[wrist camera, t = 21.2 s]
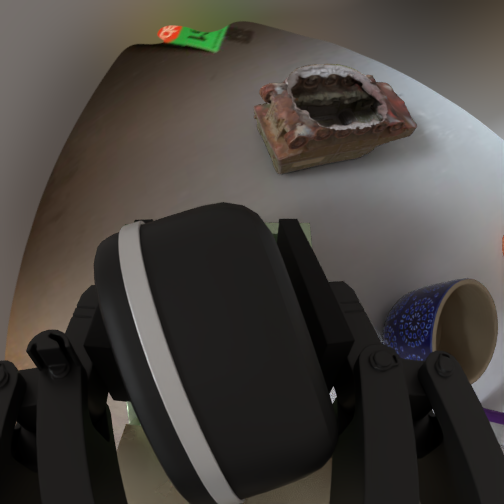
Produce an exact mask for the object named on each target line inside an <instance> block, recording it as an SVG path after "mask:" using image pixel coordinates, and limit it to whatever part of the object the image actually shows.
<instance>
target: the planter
mask: <svg viewBox="0 0 504 504" xmlns="http://www.w3.org/2000/svg"><path fill="white" fill-rule="evenodd" d="M497 334H498V319H497V312H496V308H495V304H494V301H493V299H492V297H491V295H490V293H489V292H488V290H487V289H486V288H485V286H484V285H483V284H481V283H480V282H478V281H476V280H474V279H468V278H467V279H459V280H453V281H448V282H443V283H439V284H435V285H430V286H426V287H423V288H420V289H417V290H414V291H412V292H410V293H408V294H406V295H405V296H403V297H402V298H401V299H399V300H398V301H397V303H396V304H395V305H394V306H393V308H392V309H391V311H390V313H389V315H388V317H387V319H386V322H385V326H384V332H383V342H384V345H387V346H388V347H390V348H392V349H394V350H395V351H396V352H397V353H398V355H399V356H400V358H403V359H410V360H420V361H425V360H426V358H427V357H428V355H429V354H430V353H432V352H434V351H445V352H448V353H449V354H451V355H452V356H454V357H455V358H456V360H457V361H458V362H459V364H460V366H461V367H462V369H463V371H464V373H465V375H466V376H467V378H468V380H469V382H470V384H473V383H474V382H476V381H477V380H478V379H479V378H480V377H481V375H482V374H483V373H484V372H485V370H486V368H487V367H488V365H489V363H490V361H491V359H492V356H493V353H494V350H495V346H496V341H497Z"/></svg>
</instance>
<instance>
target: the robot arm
mask: <svg viewBox="0 0 504 504" xmlns="http://www.w3.org/2000/svg"><path fill="white" fill-rule="evenodd" d="M137 221H143V222H144V223H145V224H146V223H149V222H152V221H153V219H151V220H135V221H134V222H137ZM277 245H278V248H279V251H280V253H281V256H282V258H283V261H284V264H285V267H286V269H287V272H288V275H289V278H290V280H291V283H292V286H293V289H294V291H295V294H296V297H297V300H298V303H299V305H300V308H301V311H302V314H303V317H304V319H305V322H306V325H307V328H308V331H309V334H310V337H311V340H312V343H313V346H314V349H315V352H316V355H317V358H318V361H319V364H320V367H321V370H322V373H323V376H324V379H325V382H326V386H327V389H328V392H329V393H330V392H331V390H332V388H333V386H334V389H335V392H336V395H337V397H336V399H335V401H334V402H333V408H334V411H335V415H336V419H337V424H338V442H337V444H336V447H335V450H334V452H333V455H332V472H331V488H330V501H329V504H504V455H503V452H502V450H501V447H500V445H499V443H498V440H497V438H496V436H495V433H494V431H493V429H492V427H491V424H490V422H489V420H488V418H487V416H486V414H485V412H484V409H483V407H482V405H481V403H480V401H479V399H478V397H477V395H476V393H475V392H474V390H473V388H472V386H471V384H470V382H469V380H468V378H467V376H466V375H465V373H464V371H463V369H462V367H461V366H460V364H459V362H458V361H457V360H456V358H455V357H454V356H452V355H451V354H449V353H448V352H445V351H434V352H432V353H430V354H429V355H428V357H427V358H426V360H425V361H420V360H410V359H403V358H400V356H399V355H398V353H397V352H396V351H395V350H394V349H392V348H390V347H388V346H387V345H383V344H382V343H381V342H380V340H379V338H378V336H377V334H376V332H375V330H374V328H373V326H372V324H371V322H370V320H369V318H368V316H367V314H366V312H364V309H363V307H362V305H361V303H359V299H358V297H357V296H356V294H355V292H354V290H353V289H352V288H351V287H349V286H348V285H347V284H346V283H345V282H344V281H337V282H328V280H327V278H326V276H325V274H324V272H323V270H322V268H321V266H320V264H319V262H318V260H317V258H316V256H315V254H314V251H313V249H312V247H311V245H310V243H309V241H308V239H307V237H306V235H305V233H304V232H303V230H302V228H301V226H300V224H299V222H298V220H297V219H279V227H278V235H277ZM26 352H27V353H28V355H29V356H30V358H31V359H32V361H33V362H34V363H35V365H36V366H37V368H32V369H26V370H20V371H18V370H17V368H16V367H15V365H14V364H13V363H12V362H9V361H0V504H128V502H127V498H126V494H125V490H124V486H123V481H122V477H121V472H120V467H119V462H118V457H117V452H116V446H115V440H114V434H113V427H112V420H111V412H110V409H109V406H108V405H107V403H106V402H107V397H108V392H109V393H110V395H111V397H112V398H113V400H116V401H126V402H130V399H129V397H128V394H127V392H126V389H125V386H124V384H123V381H122V378H121V376H120V373H119V370H118V367H117V364H116V361H115V358H114V355H113V352H112V349H111V346H110V343H109V339H108V336H107V333H106V329H105V326H104V322H103V319H102V315H101V311H100V307H99V302H98V297H97V292H96V287H95V285H91V286H90V287H89V288H88V289H87V290H86V291H85V292H84V293H83V294H82V295H81V298H80V300H79V302H78V304H77V308H76V309H75V311H74V313H73V317H72V318H71V320H70V323H69V325H68V328H67V330H66V332H65V333H63V332H61V331H59V330H47V331H43V332H41V333H39V334H38V335H36V336H35V337H34V338H33V339H32V340H31V341H30V343H29V345H28V347H27V350H26ZM432 409H433V410H434V413H435V414H434V413H433V411H432ZM16 421H17V424H16ZM15 424H16V426H15Z"/></svg>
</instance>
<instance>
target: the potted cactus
mask: <svg viewBox="0 0 504 504" xmlns="http://www.w3.org/2000/svg"><path fill="white" fill-rule="evenodd" d="M502 251H503V255H504V235H503V238H502Z"/></svg>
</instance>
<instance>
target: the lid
mask: <svg viewBox="0 0 504 504" xmlns="http://www.w3.org/2000/svg"><path fill="white" fill-rule="evenodd" d="M117 457H118V462H119V467H120V472H121V477H122V481H123V486H124V490H125V494H126V498H127V502H128V504H190V503H189V502H188V501H187V500H186V499H185V498H184V497H183V496H182V495H181V494H180V493H179V492H178V491H177V490H176V488H175V487H174V485H173V484H172V482H171V481H170V479H169V478H168V476H167V475H166V473H165V471H164V469H163V468H162V466H161V464H160V462H159V460H158V458H157V457H156V455H155V453H154V451H153V449H152V447H151V445H150V443H149V441H148V439H147V437H146V435H145V433H144V431H143V429H142V426H141V425H130V424H126V426H125V429H124V432H123V434H122V437H121V440H120V443H119V446H118V449H117ZM331 472H332V457H331V458H330V459H329V460H328V461H327V463H326V464H325V465H324V466H323V467H322V468H321V469H319V470H318V471H316V472H314V473H312V474H310V475H309V476H307V477H305V478H303V479H301V480H298V481H296V482H293V483H290V484H288V485H285V486H282V487H280V488H277V489H274V490H271V491H268V492H265V493H262V494H259V495H256V496H252V497H249V498H246V499H245V501H244V503H241V504H329V501H330V488H331Z"/></svg>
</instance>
